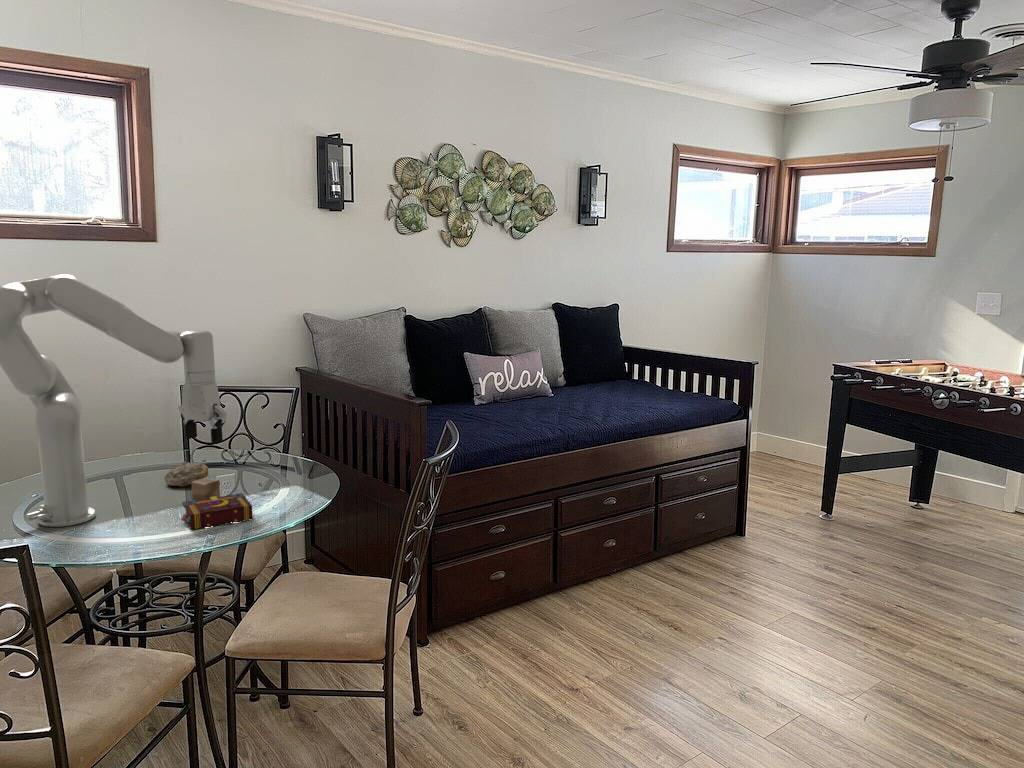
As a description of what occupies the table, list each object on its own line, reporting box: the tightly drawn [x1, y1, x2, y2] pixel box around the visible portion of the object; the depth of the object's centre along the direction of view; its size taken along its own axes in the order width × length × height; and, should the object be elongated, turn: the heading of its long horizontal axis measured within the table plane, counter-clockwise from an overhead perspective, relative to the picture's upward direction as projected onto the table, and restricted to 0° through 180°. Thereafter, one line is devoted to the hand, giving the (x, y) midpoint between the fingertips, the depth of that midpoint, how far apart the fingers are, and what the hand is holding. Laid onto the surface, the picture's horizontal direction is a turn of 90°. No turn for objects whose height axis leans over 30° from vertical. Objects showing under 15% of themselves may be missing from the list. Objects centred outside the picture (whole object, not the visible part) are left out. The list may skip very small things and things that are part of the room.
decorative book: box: [180, 492, 253, 530], centre depth 200 cm, size 11×16×5 cm
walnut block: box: [190, 476, 221, 500], centre depth 213 cm, size 5×5×6 cm
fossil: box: [164, 461, 209, 488], centre depth 230 cm, size 12×8×10 cm
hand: (204, 440), depth 211 cm, fingers open, 9 cm apart
